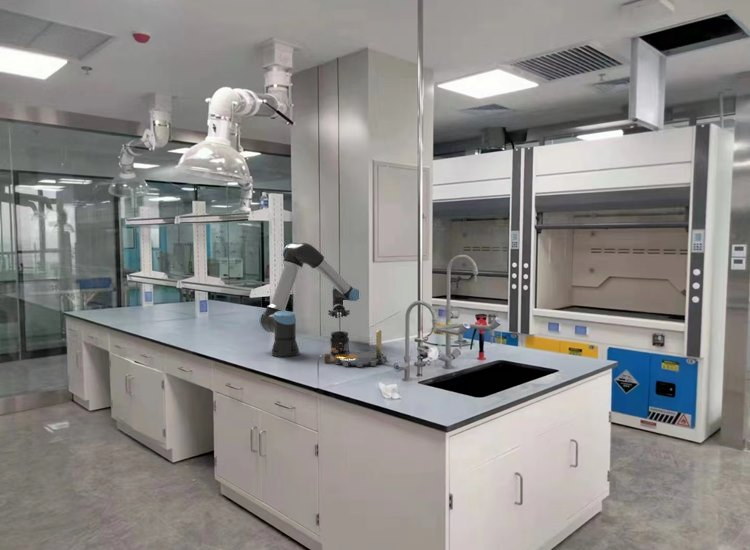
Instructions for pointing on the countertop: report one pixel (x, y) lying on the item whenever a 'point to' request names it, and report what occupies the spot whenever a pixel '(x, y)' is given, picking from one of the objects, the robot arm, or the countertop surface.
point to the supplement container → (339, 342)
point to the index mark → (327, 358)
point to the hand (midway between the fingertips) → (339, 316)
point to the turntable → (362, 356)
